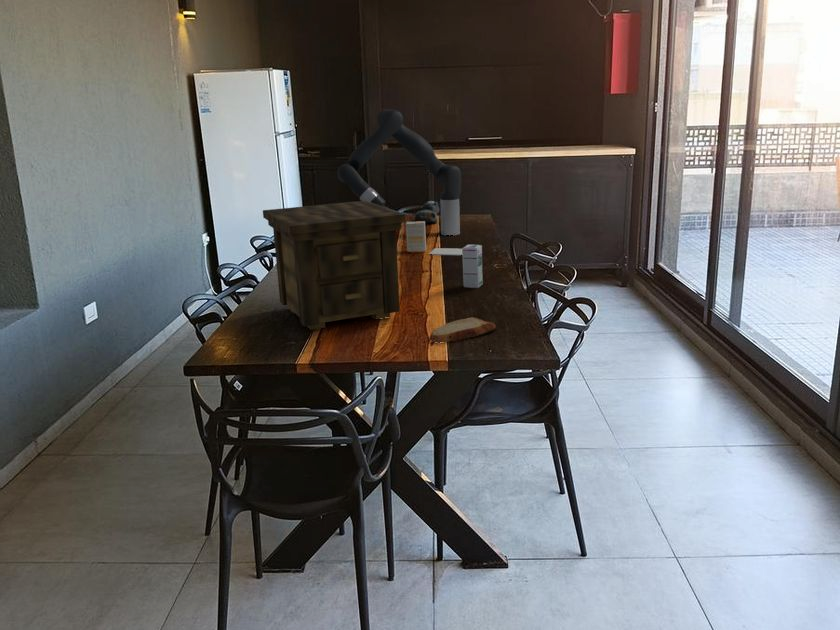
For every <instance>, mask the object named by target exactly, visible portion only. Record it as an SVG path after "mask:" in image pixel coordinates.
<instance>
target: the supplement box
mask: <svg viewBox="0 0 840 630" xmlns="http://www.w3.org/2000/svg"><path fill="white" fill-rule="evenodd" d="M405 235H406V236H405V237H406V251H407V252H411V253H426V252H427V238H426V222H425V221H417V222H413V221H406V222H405Z"/></svg>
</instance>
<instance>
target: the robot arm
mask: <svg viewBox="0 0 840 630" xmlns="http://www.w3.org/2000/svg"><path fill="white" fill-rule="evenodd" d="M376 122H377V123H376V124H377V125H378V129H377V130H375V131H374V133H372V134H371V135H370V136H368V137H367V138H366V139H364V140H362V142H361V143H359V145H358V146H357V147H356V148H355V149H354V151H353V152H352V153H351V154H350V156H349V159H348V160H347V161H346V163H343V164H341V165H339V167H338V169H337V177H338V180H339V181H340V182H341V183H343V184H347V185H348V186H349V187H350V190H351V191H352V193H354V195H356V197H358V198H359V201H369V202H371V203H374V204H377V205H380V206H383V207H386V208H389V207H388V206H385V204H386V202H387V201H386V200H385V199H384V198H383V197H382V196H381V195H380V194H379V193H378V192H377V191H376V190H375V189H373V188H372V187H371V186H370V185H369V184H368V183H367V181H365V180H364V179H363V178H362V177H361V175H360V174H359V172H360V170H361V168H362V167H363V166H364V165H365V164H366V163H367V161H369V159H370V158H371V157H372V156H373V155H374V153H376V151H377V150H378V149H379V148H380V147H381V146H382V145H383V144H384V143H385V142H386V141H387V140H388V139H389V138H391V137H392V138H393V139H395V140H396V141H397V142H398V143H399V144H400V145H401V146H402V147H403V148H404V149H405V150H406V151H407V152H408V153H409V154H410V155H411V156H412V157H413V158H415V160H416V161H418V162H419V163H420V165H422V166H423V167H425V168H426V169H427V170H428V171H429V172H430V173H431V175H433V177H434V178H435V179H436V180H437V181H438V182H439V183H440V184H442V185H445V187H444V191H442V192H440V194H439V199H440V201H439V205H440V206H439V207H440V231H441V232H440V233H441V235H442V236H446V235H449V236H450V235H453V236H458V235H460V234H461V227H460V226H461V223H460V222H461V215H460V214H461V213H460V196H461V192H462V172H461V169H460V168H459V167H458V166H456V165H451V164H450V165H449V164H446V163H444V162H443V161H442V160H440V159H439V158H438V156H436V154H435V151H434V149H433V147H432V145H431V144H430V143H429V142H428V141H427V140H426V139H425V138H424V137H422V136H421V135H420V134H418V132H417V133H416V132H415V131H413V130H411V129H410V128H408V127H407V126H406V125H404V124H403V122H404V117H403V114H402V113H401V112H400V111H398V110H396V109H389V108H385V109H384V108H383V109H381V110H380V111H378V112H377V114H376ZM401 228H403V225H402V224H401Z"/></svg>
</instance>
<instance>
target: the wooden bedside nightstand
mask: <svg viewBox="0 0 840 630" xmlns="http://www.w3.org/2000/svg"><path fill="white" fill-rule="evenodd" d="M386 207H387V206H386ZM386 207H383V206H380V205H377V204H374V203H371V202H369V201H361V200H359V201H356V200H355V201H347V202H346V201H345V202H337V203H336V202H335V203H328V204H327V203H326V204H314V205H305V206H297V207H296V206H295V207H284V208H283V207H282V208H274V209H273V208H272V209H263V210H262V216H263V219H265V220H267V222H268V226H269V227H271V228H272V229H273V230H272V232H273V239H274V249H275V250H274V251H275V252H274V253H275V259H276V261H275V262H276V273H277V282H278V293H279V302H280V304H281V305H283V306H287V307H288V308H289V311H290V312H291V313H292V314H295V315H296V316H297V317H298V318H299V323H300V325H302V327H306V326H307V327H308V328H309V329H310V330H312V331H314V330H313V329H318V330H321V329H320V328H325V329H326V323H329V322H334V321H340V320H346V319H348V320H349V319H355V318H359V317H366V316H370V317H371V316H373V317H374V318H375V319H380V318H385V317H390V318H391V314H392V313H401V312H400V311H401V310H400V308H401V307H400V289H399V288H400V287H399V266H398V248H397V243H398V242H397V241H398V240H397V231H401V230H402V227H401V225H402V224H401V223H407V219H406V218H407V216H406V215H407V214H406V213H402V212H401V211H398V210H395V209H392V208H389V207H388V208H386ZM373 317H372V318H373ZM374 318H373V319H374ZM375 319H374V320H375ZM307 327H306V328H307ZM308 328H307V329H308ZM309 329H308V330H309ZM310 330H309V331H310Z"/></svg>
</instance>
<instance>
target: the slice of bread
mask: <svg viewBox="0 0 840 630" xmlns="http://www.w3.org/2000/svg"><path fill="white" fill-rule="evenodd" d="M496 327H497V326H496V324H495V322H491V321H485V320H483V319H481V318H477V317H473V316H472V317H467V318H462V319H457V320H453V321H450V322H448V323H445V324H443V325H441V326H439V327H437V328H436V329H435V328H434V330H433V331H431V333H430V337H429V340H430V339H431V340H432V341H433V342H438V343H440V342H448V341H454V342H457V341H456V340H459V341H461V340H460V339H464V340H466V339H465V338H468V339H471V338H470V337H472V338H476V337H478V336H479V335H480V336H482V335H485V334H487V333H490V332H492V331H494V330H495V329H496ZM475 336H476V337H475ZM433 342H432V343H433ZM448 343H449V342H448Z"/></svg>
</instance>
